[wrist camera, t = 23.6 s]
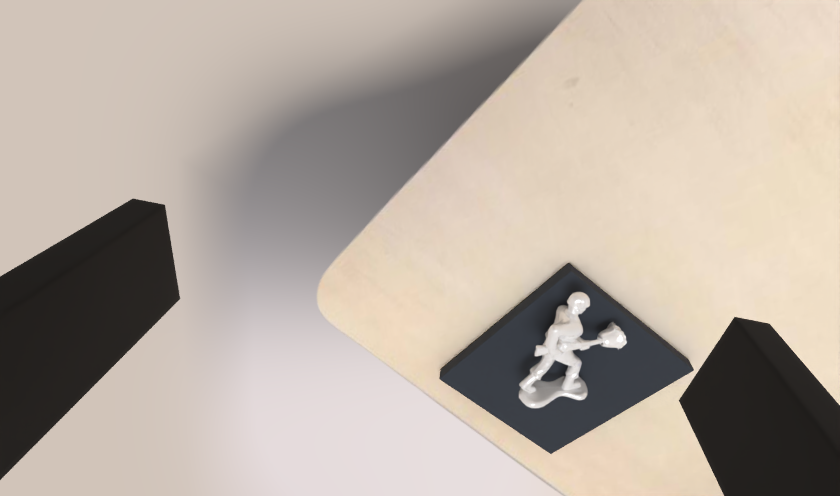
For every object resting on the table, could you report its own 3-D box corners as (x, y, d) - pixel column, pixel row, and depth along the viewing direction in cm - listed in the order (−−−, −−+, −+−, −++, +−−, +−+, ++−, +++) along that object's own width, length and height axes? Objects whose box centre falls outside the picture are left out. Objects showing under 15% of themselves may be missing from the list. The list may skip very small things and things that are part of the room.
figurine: (508, 383, 46) (518, 296, 39) (583, 356, 48) (605, 269, 41) (533, 422, 42) (549, 333, 35) (614, 391, 44) (644, 302, 37)
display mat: (440, 369, 50) (439, 379, 49) (568, 262, 41) (571, 271, 40) (549, 443, 54) (550, 454, 52) (688, 359, 45) (694, 370, 44)
